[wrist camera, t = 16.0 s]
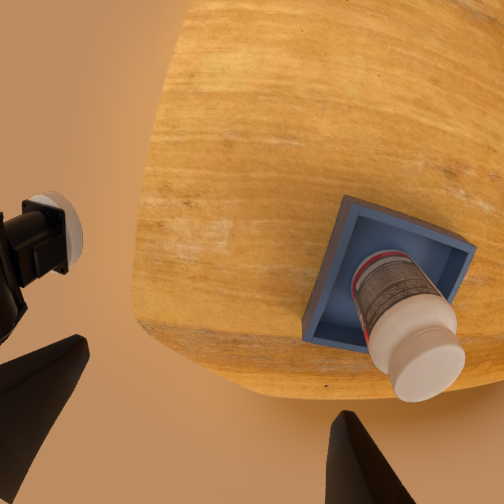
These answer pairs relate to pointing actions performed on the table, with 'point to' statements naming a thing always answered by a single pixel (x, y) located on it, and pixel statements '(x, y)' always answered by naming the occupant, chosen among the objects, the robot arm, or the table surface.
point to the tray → (361, 246)
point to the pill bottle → (407, 325)
